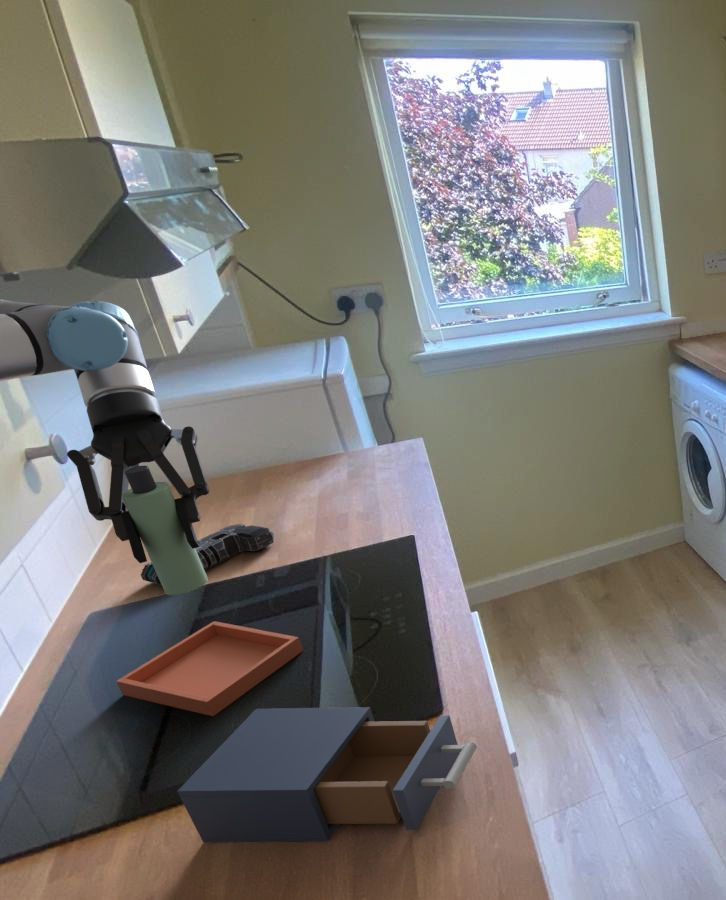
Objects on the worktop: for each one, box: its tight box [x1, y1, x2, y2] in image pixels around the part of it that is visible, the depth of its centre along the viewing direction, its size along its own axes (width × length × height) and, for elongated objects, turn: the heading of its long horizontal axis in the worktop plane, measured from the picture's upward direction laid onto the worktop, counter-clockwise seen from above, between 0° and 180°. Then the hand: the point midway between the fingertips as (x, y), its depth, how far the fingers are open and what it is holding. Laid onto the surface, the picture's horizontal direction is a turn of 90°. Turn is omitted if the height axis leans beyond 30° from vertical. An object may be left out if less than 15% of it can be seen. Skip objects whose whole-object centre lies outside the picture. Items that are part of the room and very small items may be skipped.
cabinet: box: [176, 706, 376, 843], centre depth 88 cm, size 15×13×8 cm
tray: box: [115, 620, 304, 717], centre depth 111 cm, size 18×15×3 cm
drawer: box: [313, 714, 477, 831], centre depth 88 cm, size 18×11×6 cm, turn 89°
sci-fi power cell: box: [140, 523, 275, 586], centre depth 139 cm, size 4×19×10 cm
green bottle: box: [122, 465, 209, 596], centre depth 99 cm, size 5×5×18 cm
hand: (167, 551), depth 97 cm, fingers closed on green bottle, 5 cm apart
